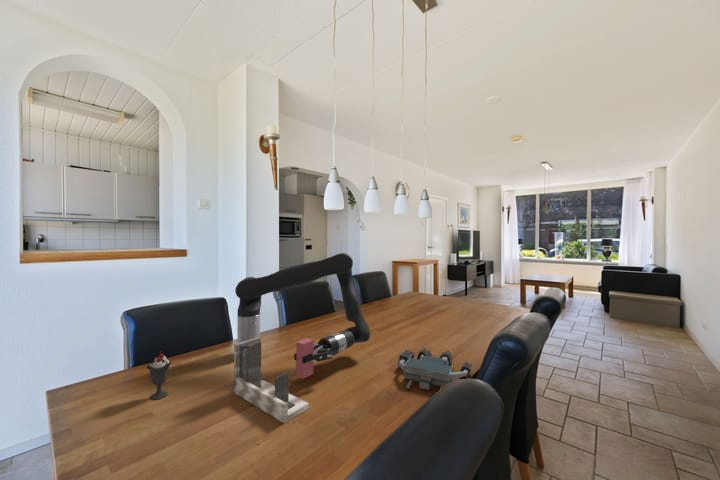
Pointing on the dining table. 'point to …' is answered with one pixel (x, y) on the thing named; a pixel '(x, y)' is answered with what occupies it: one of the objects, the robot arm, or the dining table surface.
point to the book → (302, 350)
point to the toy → (430, 368)
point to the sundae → (159, 375)
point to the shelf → (263, 384)
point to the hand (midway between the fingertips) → (298, 358)
